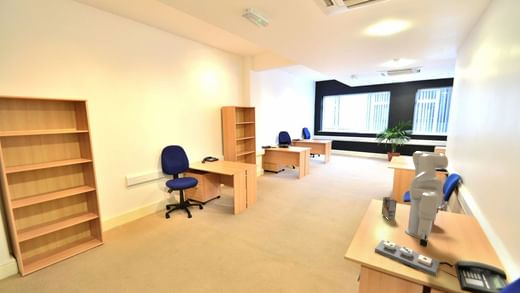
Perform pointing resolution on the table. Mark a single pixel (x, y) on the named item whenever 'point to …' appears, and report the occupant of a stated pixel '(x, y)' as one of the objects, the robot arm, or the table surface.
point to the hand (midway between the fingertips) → (423, 245)
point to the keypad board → (408, 258)
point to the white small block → (406, 251)
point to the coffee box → (389, 207)
